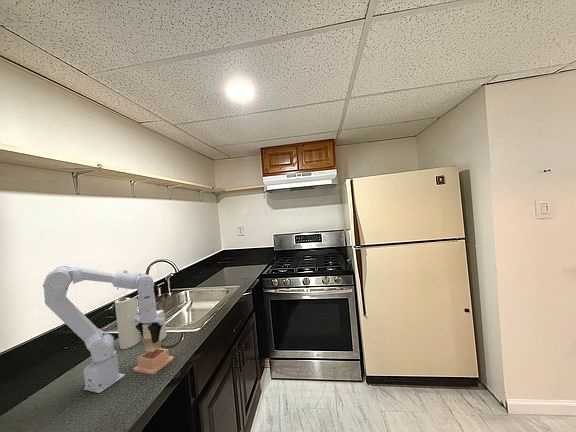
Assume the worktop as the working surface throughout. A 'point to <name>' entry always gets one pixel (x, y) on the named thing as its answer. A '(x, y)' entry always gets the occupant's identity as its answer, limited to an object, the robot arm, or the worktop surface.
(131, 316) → the paper towel roll
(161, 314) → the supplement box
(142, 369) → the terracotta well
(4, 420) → the worktop surface
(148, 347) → the birch peg
